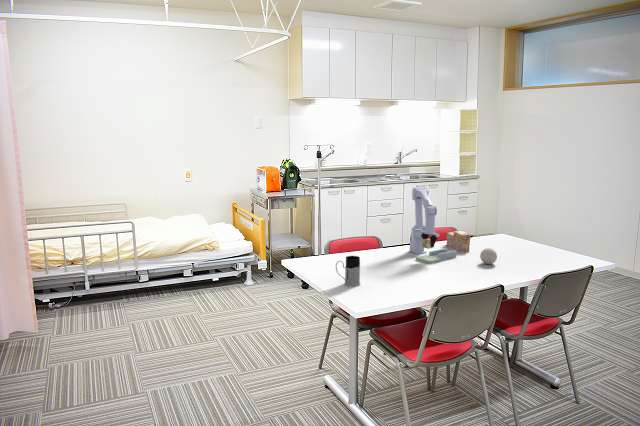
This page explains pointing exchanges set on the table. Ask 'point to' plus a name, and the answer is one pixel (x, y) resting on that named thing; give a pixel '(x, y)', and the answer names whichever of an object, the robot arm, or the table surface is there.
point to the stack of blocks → (459, 240)
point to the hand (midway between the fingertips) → (428, 246)
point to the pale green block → (437, 256)
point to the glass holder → (351, 271)
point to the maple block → (426, 243)
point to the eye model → (488, 256)
